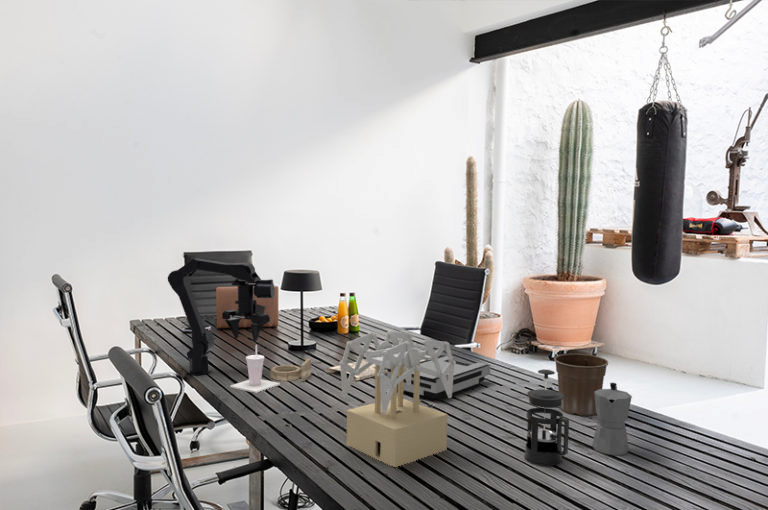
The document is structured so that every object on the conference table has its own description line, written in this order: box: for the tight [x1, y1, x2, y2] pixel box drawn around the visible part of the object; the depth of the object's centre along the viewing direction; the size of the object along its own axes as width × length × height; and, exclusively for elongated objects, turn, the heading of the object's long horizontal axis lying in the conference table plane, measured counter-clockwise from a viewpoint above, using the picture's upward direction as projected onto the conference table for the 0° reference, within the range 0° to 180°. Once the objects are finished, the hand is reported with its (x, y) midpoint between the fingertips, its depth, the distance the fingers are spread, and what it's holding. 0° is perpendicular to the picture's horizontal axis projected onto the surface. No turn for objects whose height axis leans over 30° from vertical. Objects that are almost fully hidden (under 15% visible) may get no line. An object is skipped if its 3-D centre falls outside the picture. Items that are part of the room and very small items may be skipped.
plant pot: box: [553, 353, 609, 417], centre depth 208 cm, size 16×16×16 cm
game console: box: [386, 354, 491, 402], centre depth 232 cm, size 21×32×8 cm, turn 139°
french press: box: [524, 369, 570, 467], centre depth 168 cm, size 12×9×23 cm
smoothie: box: [245, 344, 265, 386], centre depth 229 cm, size 6×6×14 cm
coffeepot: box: [591, 382, 633, 456], centre depth 177 cm, size 15×9×18 cm, turn 159°
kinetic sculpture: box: [338, 330, 456, 468], centre depth 175 cm, size 25×20×30 cm
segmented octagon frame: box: [270, 357, 312, 382], centre depth 242 cm, size 13×10×6 cm
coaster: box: [229, 378, 281, 394], centre depth 230 cm, size 12×12×1 cm
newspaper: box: [324, 359, 425, 382], centre depth 257 cm, size 37×19×3 cm, turn 134°
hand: (245, 339), depth 243 cm, fingers open, 9 cm apart
